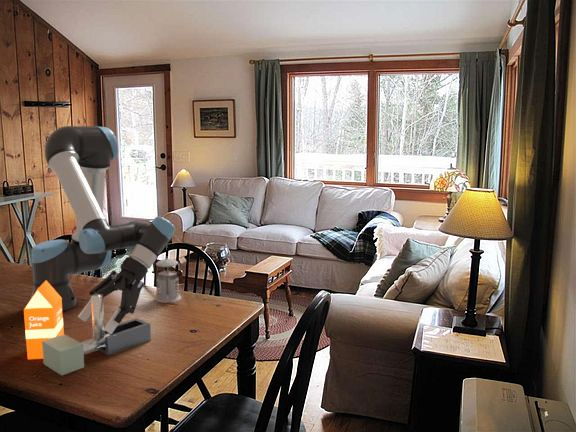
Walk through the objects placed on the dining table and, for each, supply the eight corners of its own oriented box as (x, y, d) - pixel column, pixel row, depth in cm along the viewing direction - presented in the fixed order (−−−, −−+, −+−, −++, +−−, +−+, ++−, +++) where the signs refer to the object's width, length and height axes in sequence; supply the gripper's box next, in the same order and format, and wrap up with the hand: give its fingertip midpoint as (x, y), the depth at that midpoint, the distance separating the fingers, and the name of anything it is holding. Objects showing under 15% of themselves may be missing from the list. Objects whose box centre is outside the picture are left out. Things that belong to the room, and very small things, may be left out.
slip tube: (105, 343, 147) (103, 291, 145) (112, 347, 145) (110, 294, 143) (58, 360, 137) (55, 304, 134) (65, 363, 135) (61, 307, 132)
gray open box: (136, 333, 158) (136, 318, 157) (150, 340, 153) (150, 323, 152) (94, 348, 147) (93, 331, 146) (108, 355, 142) (107, 338, 141)
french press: (182, 293, 197) (180, 230, 193) (180, 303, 185) (179, 237, 181) (156, 294, 195) (153, 231, 191) (153, 304, 184) (151, 237, 180)
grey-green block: (65, 356, 142) (64, 334, 141) (84, 367, 135) (82, 344, 134) (43, 364, 137) (41, 341, 136) (61, 375, 131) (60, 351, 130)
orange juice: (27, 359, 140) (21, 290, 136) (37, 346, 148) (32, 280, 145) (57, 357, 141) (52, 288, 137) (65, 344, 149) (60, 279, 146)
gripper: (171, 278, 145) (128, 343, 136) (122, 262, 161) (80, 320, 152) (155, 263, 140) (109, 331, 131) (106, 249, 156) (62, 308, 147)
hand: (93, 325), depth 142 cm, fingers open, 13 cm apart
